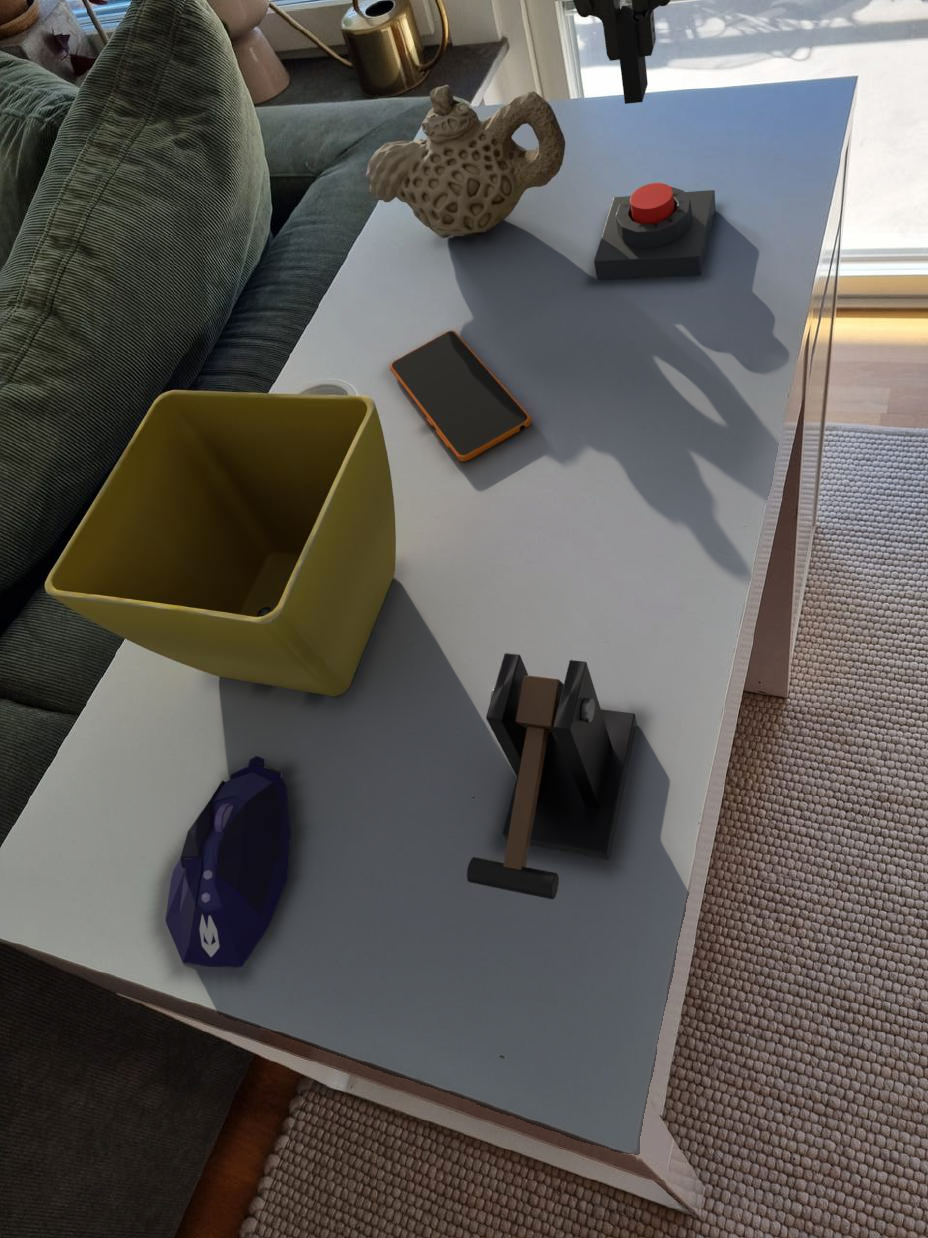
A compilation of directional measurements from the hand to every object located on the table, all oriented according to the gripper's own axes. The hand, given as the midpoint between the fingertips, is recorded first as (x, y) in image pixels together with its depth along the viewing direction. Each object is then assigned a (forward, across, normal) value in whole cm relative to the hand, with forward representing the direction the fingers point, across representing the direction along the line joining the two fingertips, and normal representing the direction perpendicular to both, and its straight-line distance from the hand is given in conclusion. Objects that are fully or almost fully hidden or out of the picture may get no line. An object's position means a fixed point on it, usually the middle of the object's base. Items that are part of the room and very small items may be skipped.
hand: (636, 93), depth 80 cm
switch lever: (+6, +4, -61) cm, 61 cm away
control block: (+16, 0, 0) cm, 16 cm away
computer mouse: (+15, -19, -66) cm, 71 cm away
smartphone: (+16, -15, -20) cm, 30 cm away
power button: (+12, 0, +1) cm, 12 cm away
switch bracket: (+15, +4, -56) cm, 59 cm away
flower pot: (+16, -21, -46) cm, 53 cm away
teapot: (+16, -20, +6) cm, 26 cm away
